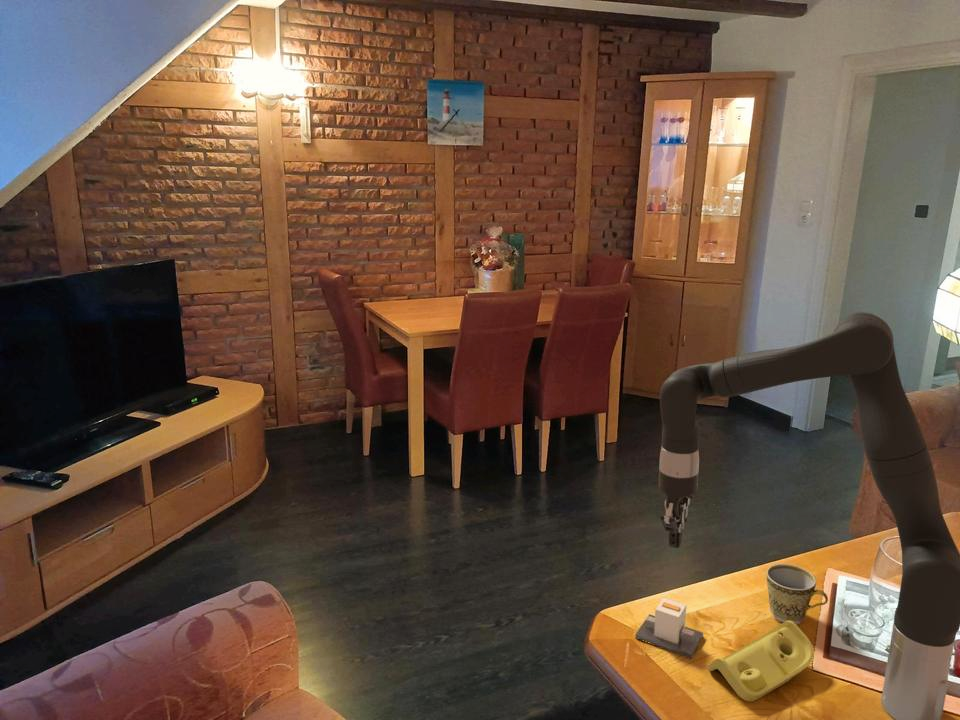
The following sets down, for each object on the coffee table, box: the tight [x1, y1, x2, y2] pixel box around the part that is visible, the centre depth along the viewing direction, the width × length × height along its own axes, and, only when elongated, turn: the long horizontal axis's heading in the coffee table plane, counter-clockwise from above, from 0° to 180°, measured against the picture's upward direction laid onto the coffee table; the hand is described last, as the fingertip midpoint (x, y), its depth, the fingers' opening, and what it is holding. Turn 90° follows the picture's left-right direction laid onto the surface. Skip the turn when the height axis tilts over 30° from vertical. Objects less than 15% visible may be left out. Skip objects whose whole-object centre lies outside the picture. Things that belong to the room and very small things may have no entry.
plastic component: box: [706, 620, 815, 702], centre depth 137 cm, size 20×7×10 cm
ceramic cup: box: [766, 563, 829, 626], centre depth 152 cm, size 13×10×10 cm
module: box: [654, 597, 687, 644], centre depth 147 cm, size 5×5×7 cm
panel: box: [635, 614, 704, 659], centre depth 148 cm, size 12×8×3 cm, turn 56°
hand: (674, 545), depth 142 cm, fingers closed
